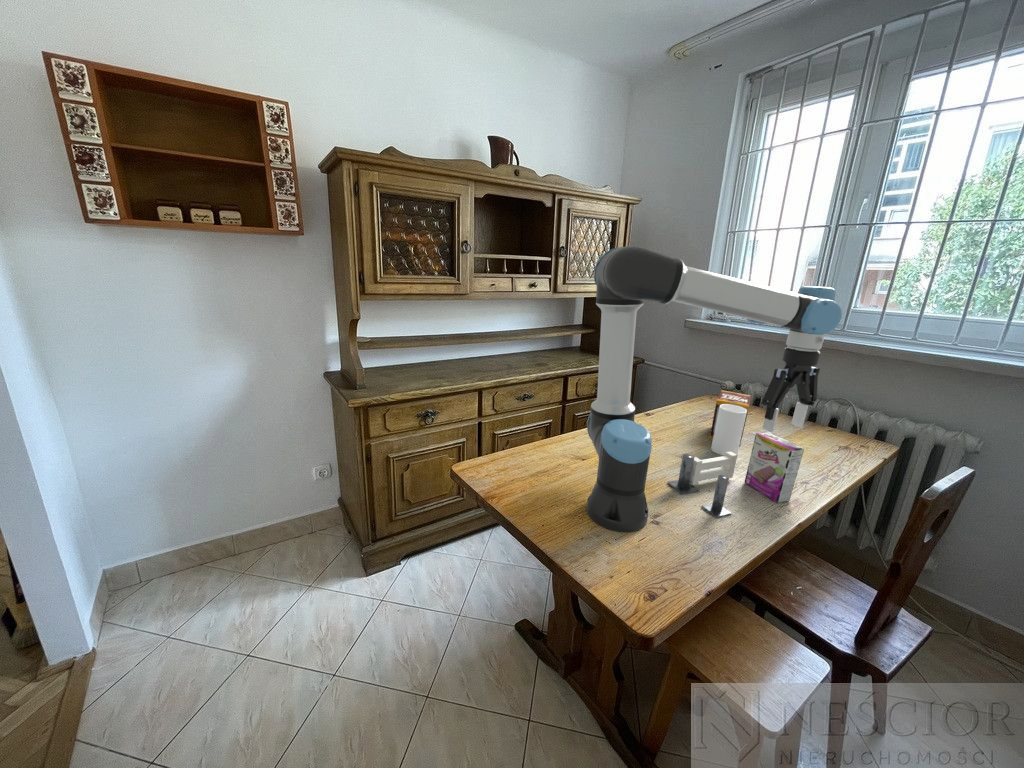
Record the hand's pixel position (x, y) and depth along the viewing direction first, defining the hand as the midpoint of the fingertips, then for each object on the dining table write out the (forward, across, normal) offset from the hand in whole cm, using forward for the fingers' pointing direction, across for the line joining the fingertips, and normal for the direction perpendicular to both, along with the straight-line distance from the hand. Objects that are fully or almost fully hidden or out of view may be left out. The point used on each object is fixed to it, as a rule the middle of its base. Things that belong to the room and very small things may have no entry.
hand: (782, 428), depth 109 cm
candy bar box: (+20, 0, 0) cm, 20 cm away
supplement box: (+20, +22, +34) cm, 45 cm away
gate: (+19, -12, +9) cm, 24 cm away
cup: (+20, +10, +24) cm, 33 cm away
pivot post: (+20, -22, +9) cm, 31 cm away
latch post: (+20, -22, -3) cm, 30 cm away
